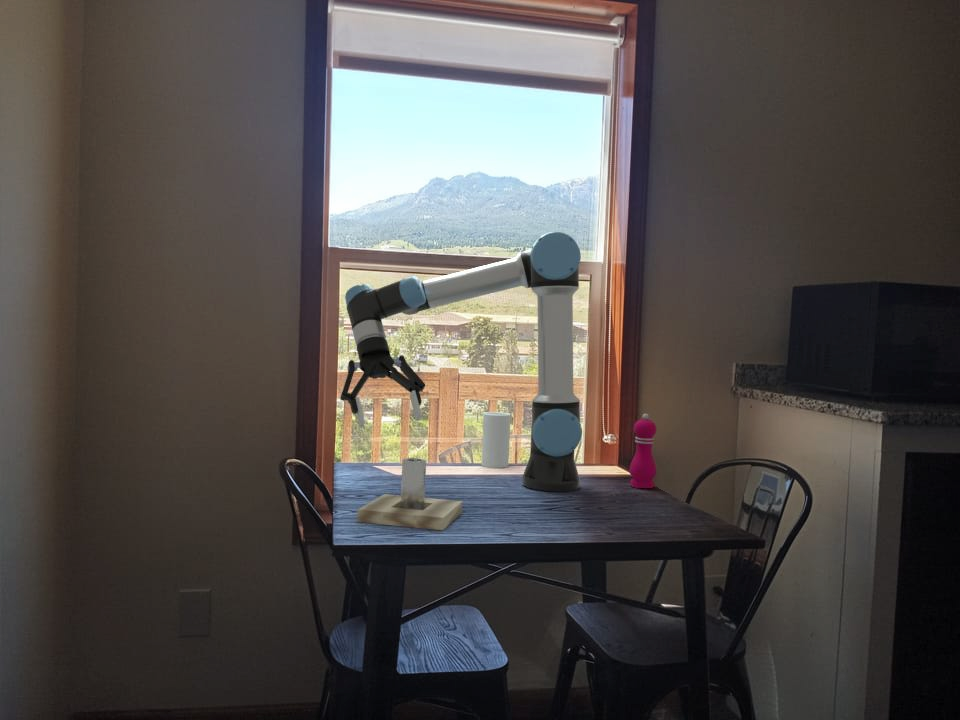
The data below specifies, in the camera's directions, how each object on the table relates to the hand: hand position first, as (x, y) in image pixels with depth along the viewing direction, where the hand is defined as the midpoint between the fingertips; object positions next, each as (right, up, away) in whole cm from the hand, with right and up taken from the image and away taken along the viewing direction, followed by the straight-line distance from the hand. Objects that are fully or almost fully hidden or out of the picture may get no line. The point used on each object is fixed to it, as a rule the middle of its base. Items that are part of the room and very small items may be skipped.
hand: (391, 421), depth 169 cm
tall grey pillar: (+6, -19, -15) cm, 25 cm away
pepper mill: (+65, -20, +30) cm, 74 cm away
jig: (+6, -19, -15) cm, 25 cm away
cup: (+25, -18, +54) cm, 62 cm away
